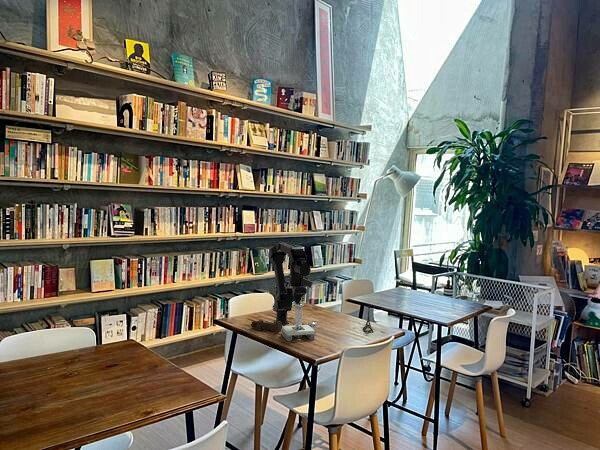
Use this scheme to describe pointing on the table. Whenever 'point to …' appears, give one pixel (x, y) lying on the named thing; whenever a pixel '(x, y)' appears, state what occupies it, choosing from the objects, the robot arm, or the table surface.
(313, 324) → the short stub
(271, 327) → the bolt
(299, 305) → the long pin
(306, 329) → the square washer plate
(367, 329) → the eiffel tower figurine
